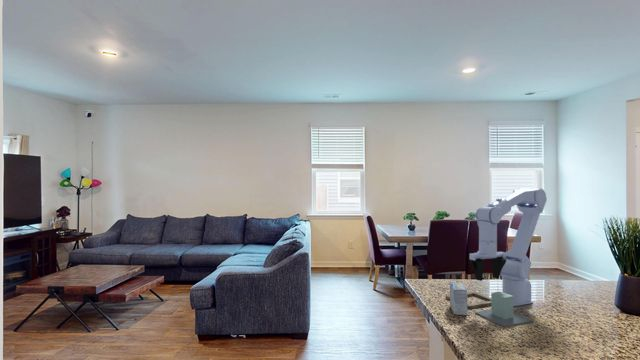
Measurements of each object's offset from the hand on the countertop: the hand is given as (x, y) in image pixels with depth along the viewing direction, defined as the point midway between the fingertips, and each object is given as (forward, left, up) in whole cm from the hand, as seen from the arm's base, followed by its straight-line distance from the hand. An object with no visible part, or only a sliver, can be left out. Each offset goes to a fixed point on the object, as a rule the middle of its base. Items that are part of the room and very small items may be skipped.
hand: (487, 279), depth 122 cm
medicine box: (+11, -2, -11) cm, 15 cm away
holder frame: (-1, -8, -10) cm, 13 cm away
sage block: (+1, +7, -10) cm, 13 cm away
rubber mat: (+1, +8, -10) cm, 13 cm away
